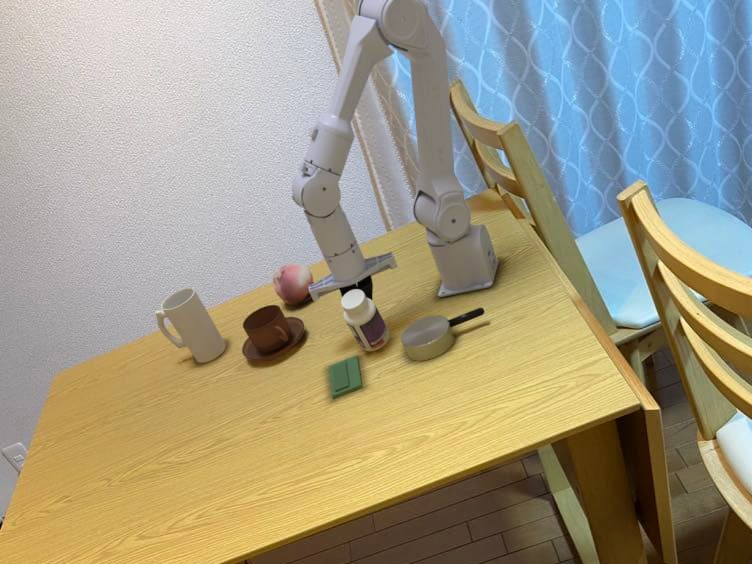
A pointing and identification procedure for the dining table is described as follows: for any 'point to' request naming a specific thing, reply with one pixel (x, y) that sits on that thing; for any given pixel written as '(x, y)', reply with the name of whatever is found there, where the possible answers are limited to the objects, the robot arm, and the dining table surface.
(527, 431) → the dining table surface
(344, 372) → the green light switch
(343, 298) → the pill bottle
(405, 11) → the robot arm
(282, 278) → the onion
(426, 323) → the pan
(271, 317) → the cup and saucer
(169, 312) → the mug
